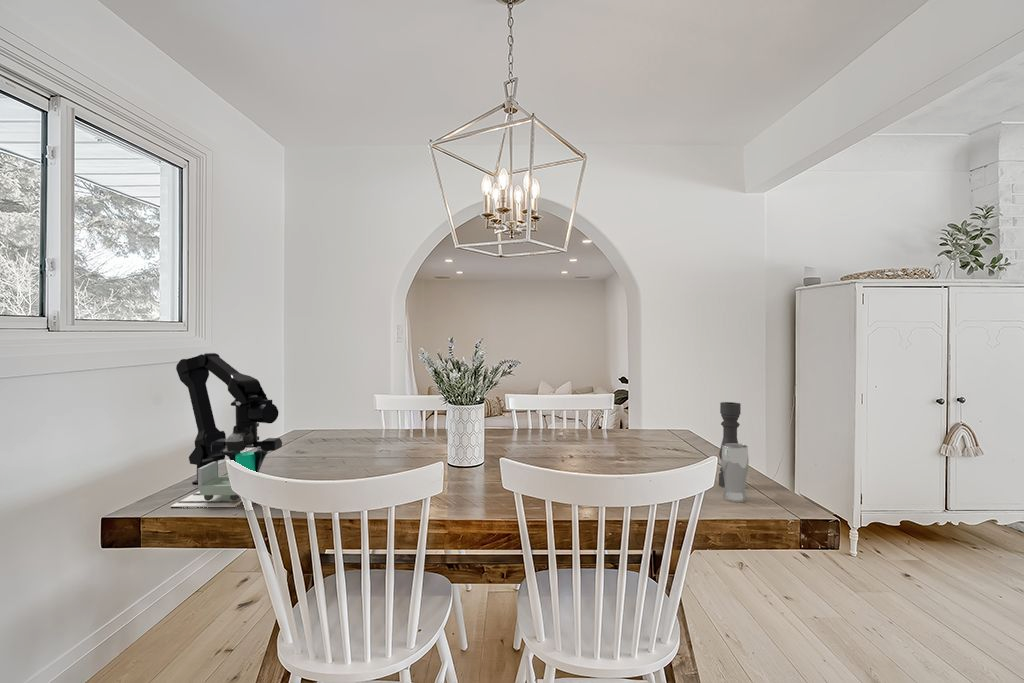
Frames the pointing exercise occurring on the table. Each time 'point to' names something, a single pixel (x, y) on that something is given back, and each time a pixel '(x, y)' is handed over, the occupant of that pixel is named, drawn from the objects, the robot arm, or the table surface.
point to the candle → (246, 459)
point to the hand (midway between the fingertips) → (247, 473)
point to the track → (199, 501)
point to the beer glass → (734, 471)
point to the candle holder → (728, 428)
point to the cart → (213, 483)
